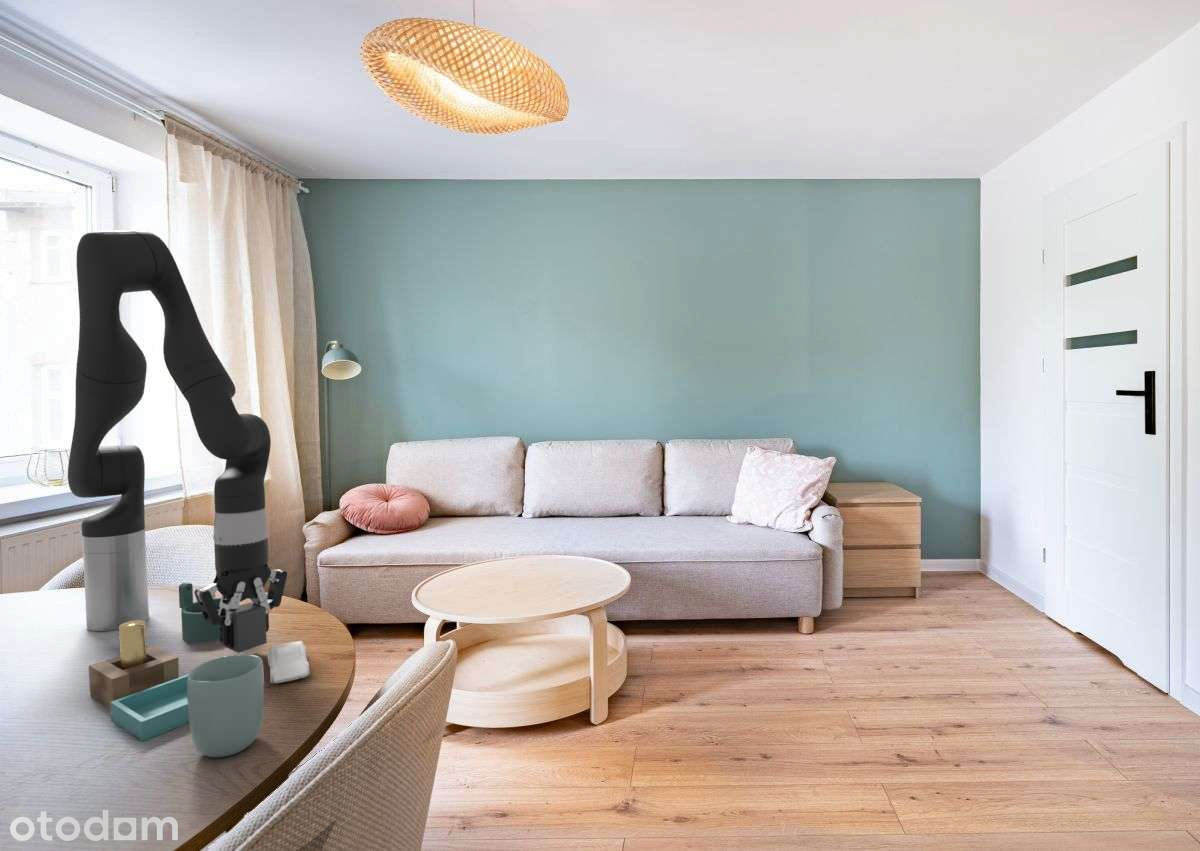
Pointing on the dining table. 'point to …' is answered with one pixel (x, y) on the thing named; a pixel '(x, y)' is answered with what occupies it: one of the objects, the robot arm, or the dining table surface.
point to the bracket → (195, 618)
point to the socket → (131, 675)
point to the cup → (225, 704)
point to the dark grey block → (249, 627)
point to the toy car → (288, 662)
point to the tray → (153, 709)
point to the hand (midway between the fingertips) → (245, 640)
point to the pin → (132, 644)
